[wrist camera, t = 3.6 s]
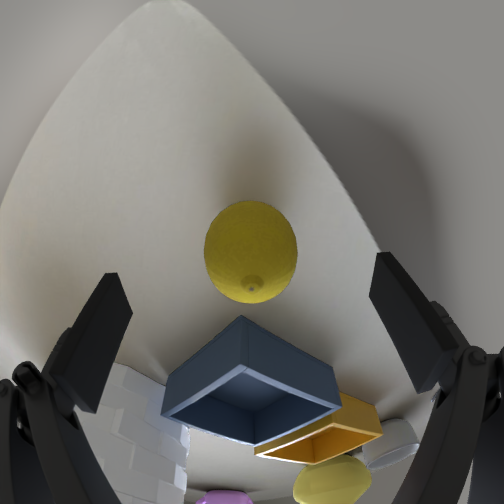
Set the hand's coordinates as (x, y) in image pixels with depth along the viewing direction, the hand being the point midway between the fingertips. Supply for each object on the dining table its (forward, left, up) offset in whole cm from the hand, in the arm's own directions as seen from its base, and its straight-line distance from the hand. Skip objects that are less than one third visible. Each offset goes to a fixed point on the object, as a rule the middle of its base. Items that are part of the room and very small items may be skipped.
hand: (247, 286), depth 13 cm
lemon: (0, 0, -8) cm, 8 cm away
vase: (-53, +33, -8) cm, 63 cm away
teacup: (-48, +14, -8) cm, 51 cm away
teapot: (-59, +81, -8) cm, 101 cm away
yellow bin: (-28, +17, -8) cm, 34 cm away
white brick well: (-3, +34, -8) cm, 35 cm away
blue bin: (-12, +14, -8) cm, 20 cm away
